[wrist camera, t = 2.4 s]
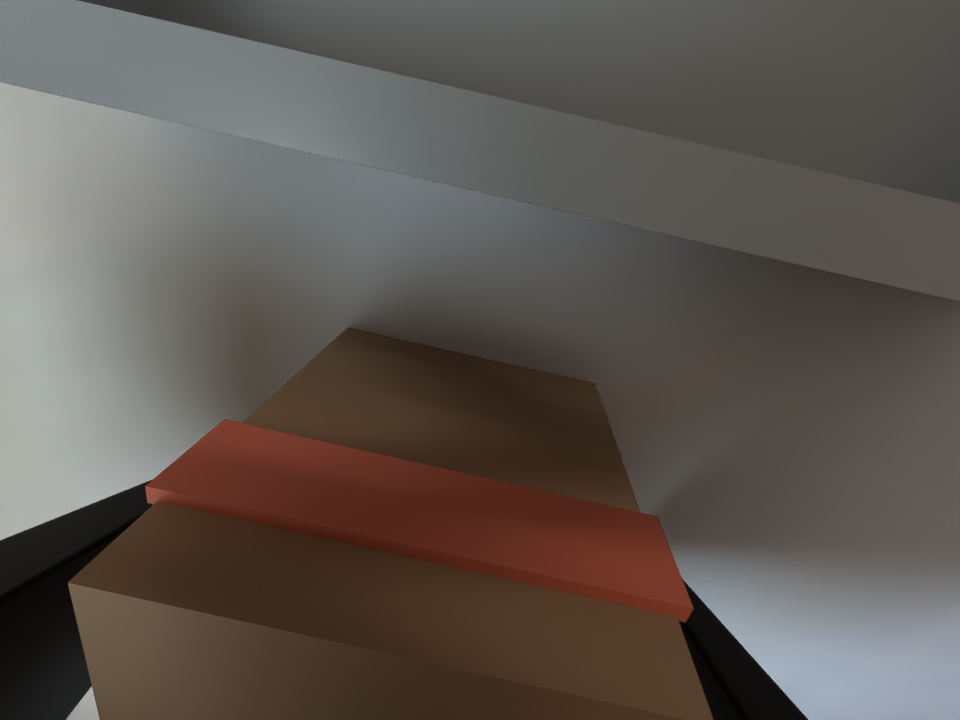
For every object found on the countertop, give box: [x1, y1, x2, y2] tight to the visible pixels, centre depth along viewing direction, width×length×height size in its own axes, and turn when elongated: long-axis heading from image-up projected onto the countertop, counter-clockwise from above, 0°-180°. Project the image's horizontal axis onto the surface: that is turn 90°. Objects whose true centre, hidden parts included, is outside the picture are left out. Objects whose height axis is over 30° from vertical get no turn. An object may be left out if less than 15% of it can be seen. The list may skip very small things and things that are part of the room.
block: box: [68, 328, 713, 720], centre depth 7 cm, size 5×7×6 cm
